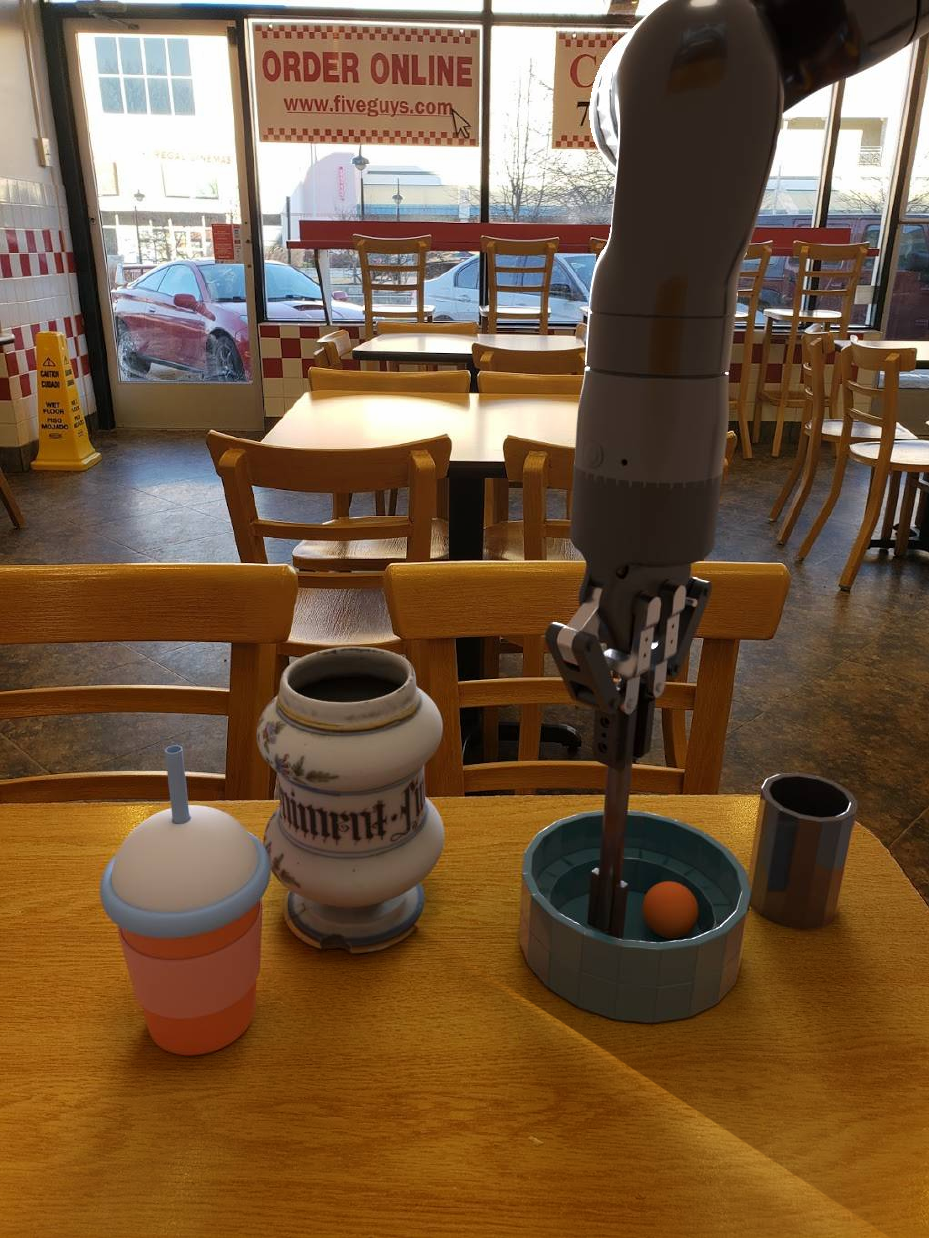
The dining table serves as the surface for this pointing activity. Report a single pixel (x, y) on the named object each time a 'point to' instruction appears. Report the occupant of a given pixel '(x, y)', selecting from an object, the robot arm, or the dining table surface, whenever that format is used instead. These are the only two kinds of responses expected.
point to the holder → (800, 849)
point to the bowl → (633, 919)
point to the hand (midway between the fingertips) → (621, 756)
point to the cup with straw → (190, 919)
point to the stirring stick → (611, 856)
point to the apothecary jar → (351, 797)
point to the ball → (670, 910)
